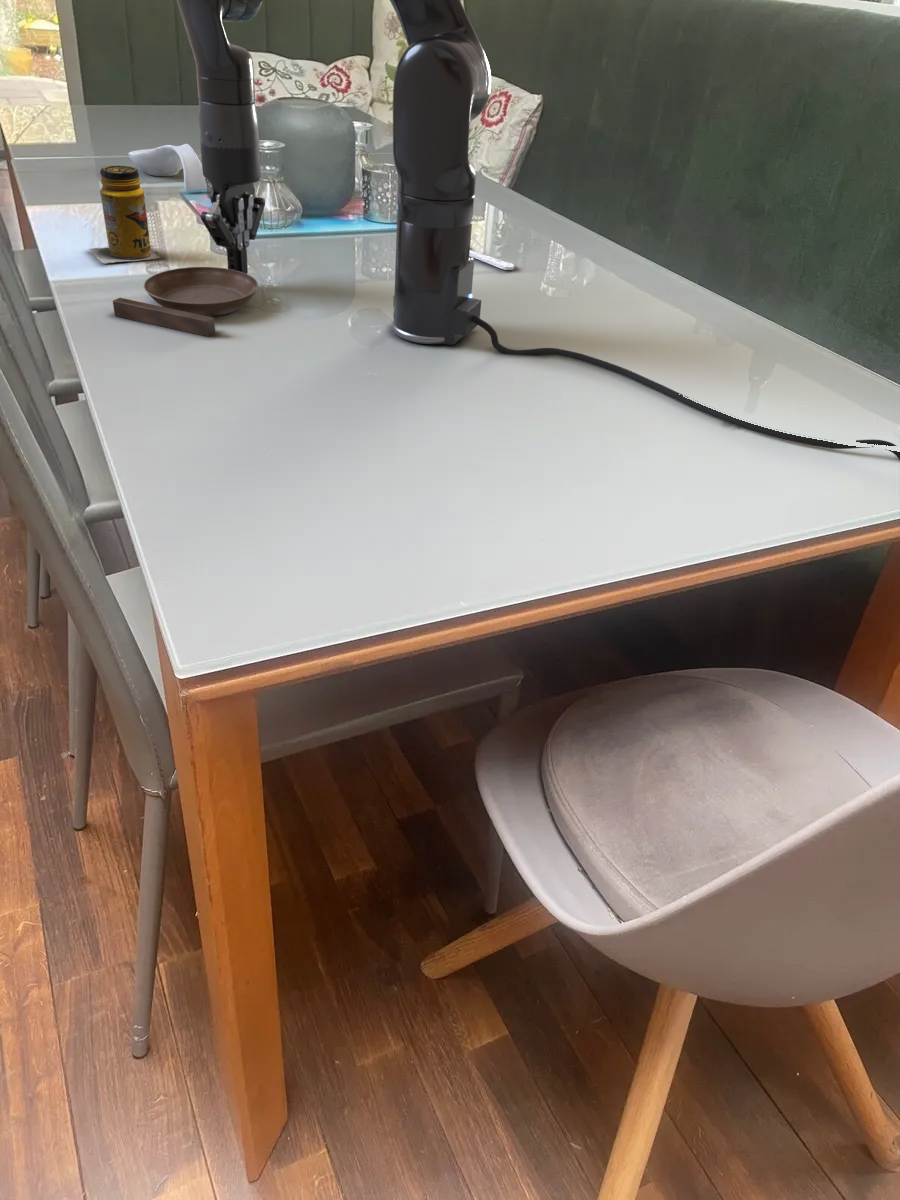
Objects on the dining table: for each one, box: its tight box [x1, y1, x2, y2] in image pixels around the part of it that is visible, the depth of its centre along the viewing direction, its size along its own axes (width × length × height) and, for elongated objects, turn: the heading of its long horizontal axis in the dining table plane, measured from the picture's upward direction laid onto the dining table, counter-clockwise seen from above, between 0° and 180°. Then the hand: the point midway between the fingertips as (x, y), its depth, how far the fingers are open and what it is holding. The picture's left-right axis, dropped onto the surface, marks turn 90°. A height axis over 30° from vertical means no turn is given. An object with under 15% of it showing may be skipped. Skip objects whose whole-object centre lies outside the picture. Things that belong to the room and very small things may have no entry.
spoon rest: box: [128, 143, 208, 193], centre depth 173 cm, size 24×12×7 cm, turn 37°
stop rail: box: [112, 297, 216, 337], centre depth 113 cm, size 14×2×2 cm, turn 69°
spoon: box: [469, 249, 515, 271], centre depth 147 cm, size 5×18×1 cm, turn 44°
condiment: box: [88, 164, 161, 264], centre depth 131 cm, size 7×8×12 cm
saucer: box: [143, 266, 259, 317], centre depth 119 cm, size 15×15×3 cm
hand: (238, 274), depth 126 cm, fingers closed
